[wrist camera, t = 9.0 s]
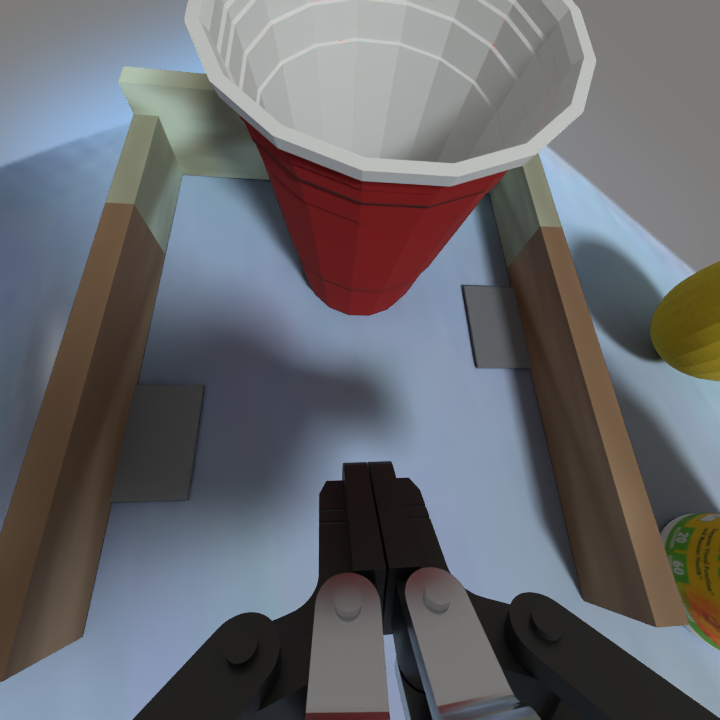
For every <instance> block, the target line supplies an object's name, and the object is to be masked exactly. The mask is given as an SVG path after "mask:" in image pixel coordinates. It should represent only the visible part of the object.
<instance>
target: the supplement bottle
mask: <svg viewBox="0 0 720 720" xmlns="http://www.w3.org/2000/svg"><path fill="white" fill-rule="evenodd" d="M660 536H661V539H662V542H663V545H664V548H665V551H666V554H667V558H668V561H669V564H670V567H671V570H672V573H673V576H674V579H675V583H676V586H677V589H678V592H679V595H680V598H681V601H682V605H683V608H684V611H685V614H686V617H687V620H688V623H689V625H684V626H685V627H686V628H687V629H688V630H689V631H690V632H691V633H692V634H693V635H694V636H696V637H697V638H698V639H700V640H701V641H702V642H704V643H705V644H707V645H709V646H710V647H712V648H714V649H716V650H719V651H720V514H717V513H694V514H686V515H682V516H680V517H677V518H675V519H673V520H672V521H671V522H669V523H668V524H667V525H666V526H665V527H664V529H663V530H662V532H661V534H660Z"/></svg>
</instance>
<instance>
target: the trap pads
mask: <svg viewBox="0 0 720 720" xmlns="http://www.w3.org/2000/svg"><path fill="white" fill-rule="evenodd" d="M463 292H464V298H465V304H466V310H467V316H468V321H469V327H470V333H471V339H472V345H473V351H474V357H475V363H476V368H511V369H530V368H532V365H531V360H530V356H529V352H528V347H527V343H526V339H525V335H524V330H523V326H522V322H521V317H520V313H519V309H518V305H517V300H516V296H515V292H514V287H487V286H464V287H463ZM203 393H204V385H135V387H134V391H133V396H132V400H131V405H130V409H129V414H128V419H127V423H126V428H125V432H124V437H123V441H122V446H121V450H120V455H119V460H118V464H117V469H116V473H115V478H114V482H113V487H112V492H111V496H110V501H109V502H140V501H170V500H189V493H190V486H191V478H192V471H193V464H194V457H195V450H196V443H197V436H198V429H199V421H200V414H201V407H202V400H203Z"/></svg>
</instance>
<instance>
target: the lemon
mask: <svg viewBox="0 0 720 720" xmlns="http://www.w3.org/2000/svg"><path fill="white" fill-rule="evenodd" d="M650 334H651V340H652V343H653V346H654V347H655V349H656V351H657V353H658V354H659V356H661V358H662V359H663V360H664V361H665V362H667V363H668V364H669V365H670V366H672V367H673V368H675V369H677V370H678V371H680V372H682V373H685V374H687V375H690V376H693V377H696V378H700V379H707V380H714V381H720V261H719V262H717V263H714V264H712V265H710V266H708V267H706V268H704V269H702V270H700V271H699V272H697V273H695V274H693V275H692V276H690V277H688V278H687V279H685V280H684V281H682V282H681V283H679V284H678V285H677V286H675V287H674V288H673V289H672V290H671V291H670V292H669V293H668V294H667V295H666V296H665V297H664V298H663V300H662V301H661V302H660V304H659V305H658V307H657V308H656V310H655V312H654V314H653V317H652V321H651V325H650Z"/></svg>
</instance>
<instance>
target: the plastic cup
mask: <svg viewBox="0 0 720 720" xmlns="http://www.w3.org/2000/svg"><path fill="white" fill-rule="evenodd" d="M184 21H185V24H186V26H187V28H188V31H189V33H190V36H191V38H192V40H193V43H194V45H195V48H196V50H197V52H198V55H199V57H200V60H201V62H202V64H203V67H204V69H205V72H206V74H207V76H208V79H209V81H210V83H211V84H212V86H213V88H214V89H215V91H216V93H217V94H218V96H219V97H220V98H221V99H222V100H223V101H224V102H225V103H226V104H228V105H229V106H230V107H231V108H232V109H233V110H235V111H236V112H237V113H238V114H239V117H240V119H241V120H242V121H244V123H245V125H246V127H247V130H248V132H249V134H250V136H251V139H252V141H253V142H254V143H255V144H256V147H257V149H258V151H259V153H260V155H261V158H262V160H263V162H264V165H265V168H266V171H267V173H268V176H269V179H270V182H271V185H272V187H273V190H274V193H275V196H276V198H277V201H278V204H279V207H280V210H281V212H282V215H283V218H284V221H285V223H286V226H287V229H288V232H289V235H290V237H291V240H292V242H293V244H294V246H295V249H296V251H297V253H298V255H299V258H300V261H301V264H302V267H303V270H304V273H305V275H306V277H307V280H308V282H309V284H310V286H311V289H312V290H313V291H314V293H315V295H317V296H318V297H319V298H320V299H321V300H322V301H323V302H324V303H325V304H326V305H327V306H329V307H330V308H332V309H335V310H337V311H340V312H343V313H345V314H348V315H368V316H369V315H372V314H375V313H378V312H381V311H384V310H387V309H388V308H389V307H390V306H392V305H393V304H394V303H395V302H397V301H398V300H399V299H400V298H401V297H402V296H403V295H404V294H406V292H407V291H408V290H409V288H410V287H411V286H412V284H413V283H414V282H415V280H416V279H417V278H418V276H419V275H420V274H421V273H422V272H423V271H424V270H425V269H426V268H427V267H428V266H429V265H430V264H431V263H432V261H433V260H434V259H435V257H436V256H437V255H438V254H439V252H440V251H441V250H442V249H443V247H444V246H445V245H446V244H447V242H448V241H449V240H450V239H451V237H452V236H453V235H454V233H455V232H456V231H457V230H458V228H459V227H460V226H461V225H462V223H463V222H464V221H465V220H466V218H467V217H468V216H469V215H470V213H471V212H472V211H473V209H474V208H475V207H476V206H477V204H478V203H479V202H480V201H481V199H482V198H483V197H484V196H485V194H486V193H487V192H488V191H490V190H491V189H492V188H493V187H494V186H495V185H497V183H498V182H499V181H500V180H501V179H502V177H503V176H504V175H505V174H506V173H507V172H508V171H509V170H510V169H513V168H516V167H520V166H523V165H525V164H526V163H527V162H528V161H529V160H530V159H531V158H533V157H534V156H535V155H536V154H537V153H538V152H539V151H540V150H542V149H543V148H544V147H545V146H546V145H547V144H548V143H549V142H550V141H552V139H554V138H555V137H556V136H557V135H558V134H559V133H560V132H562V131H563V130H564V129H565V128H566V127H567V126H568V125H569V124H570V123H571V122H573V121H574V120H575V119H576V118H577V117H578V116H579V115H580V114H581V113H583V110H584V106H585V103H586V99H587V95H588V91H589V87H590V83H591V79H592V76H593V72H594V68H595V64H596V58H595V55H594V52H593V49H592V46H591V43H590V39H589V36H588V33H587V30H586V27H585V24H584V21H583V17H582V14H581V11H580V9H579V8H578V7H577V6H576V4H575V3H574V2H573V1H572V0H188V4H187V9H186V14H185V18H184Z"/></svg>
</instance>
